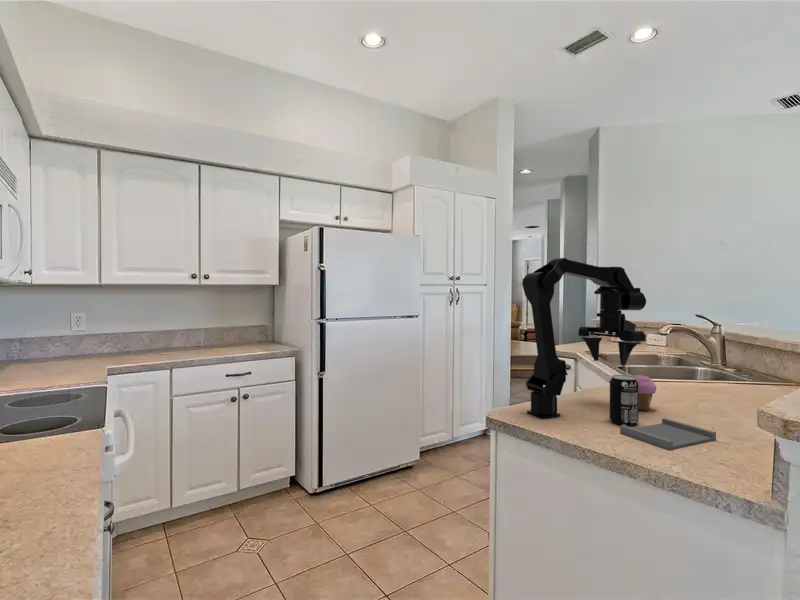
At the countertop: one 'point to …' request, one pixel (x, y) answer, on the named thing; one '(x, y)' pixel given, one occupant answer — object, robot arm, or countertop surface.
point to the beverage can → (624, 400)
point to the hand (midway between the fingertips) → (609, 363)
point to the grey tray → (670, 434)
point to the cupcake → (644, 391)
